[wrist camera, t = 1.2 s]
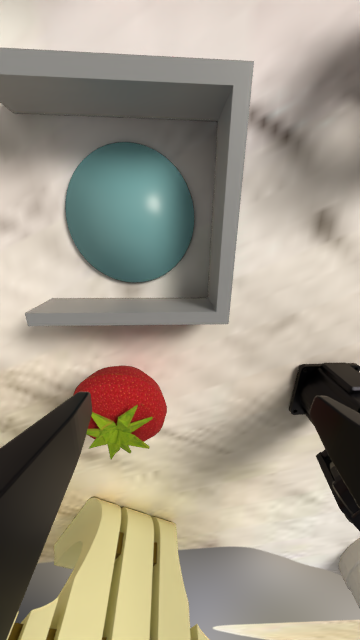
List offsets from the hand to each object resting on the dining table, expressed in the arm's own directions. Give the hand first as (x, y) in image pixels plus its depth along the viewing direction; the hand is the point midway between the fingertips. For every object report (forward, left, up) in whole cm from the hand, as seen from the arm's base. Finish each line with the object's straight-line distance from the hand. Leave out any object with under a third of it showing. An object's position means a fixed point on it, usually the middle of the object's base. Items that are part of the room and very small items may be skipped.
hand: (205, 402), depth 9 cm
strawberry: (-7, +5, -13) cm, 16 cm away
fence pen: (+7, +4, -13) cm, 15 cm away
